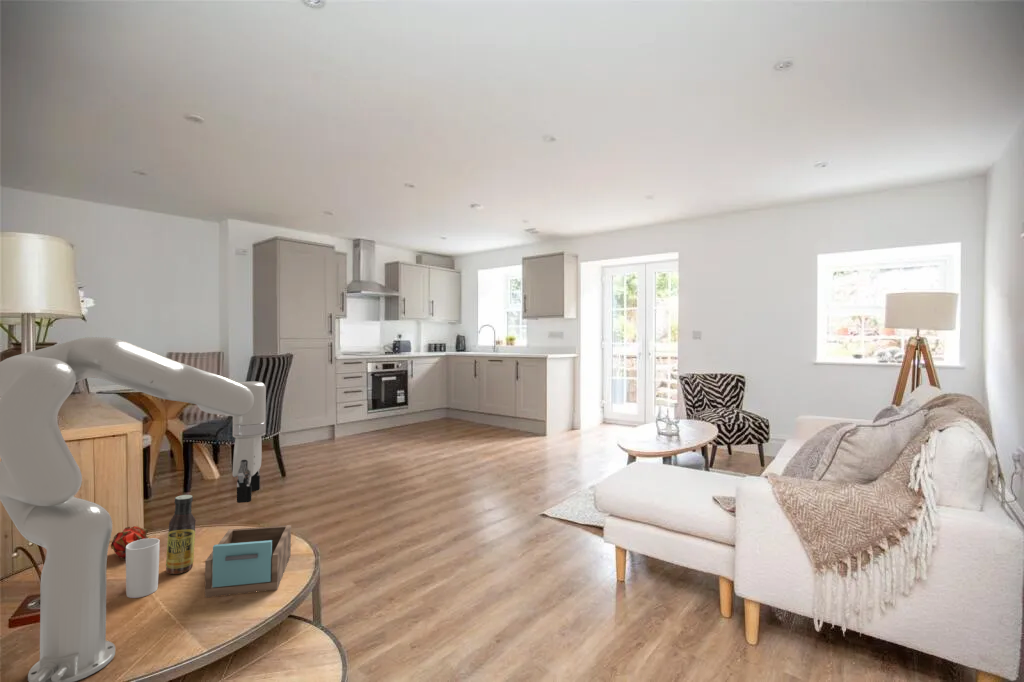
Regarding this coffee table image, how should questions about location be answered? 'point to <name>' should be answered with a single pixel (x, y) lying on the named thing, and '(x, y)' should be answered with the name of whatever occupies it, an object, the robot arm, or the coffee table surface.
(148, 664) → the coffee table surface
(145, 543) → the white oval vase
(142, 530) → the dragon fruit
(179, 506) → the sauce bottle
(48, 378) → the robot arm
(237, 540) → the box
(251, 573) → the panel
